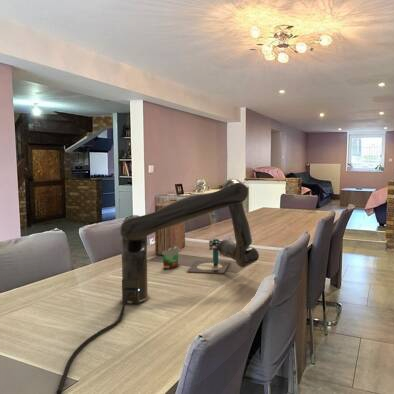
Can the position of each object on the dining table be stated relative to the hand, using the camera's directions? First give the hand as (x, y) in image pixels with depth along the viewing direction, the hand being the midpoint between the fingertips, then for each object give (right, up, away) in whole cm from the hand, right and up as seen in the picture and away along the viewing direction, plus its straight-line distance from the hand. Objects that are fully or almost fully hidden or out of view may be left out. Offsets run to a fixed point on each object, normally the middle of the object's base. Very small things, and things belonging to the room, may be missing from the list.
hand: (213, 241), depth 178 cm
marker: (+2, -12, -1) cm, 12 cm away
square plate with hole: (-1, -13, -3) cm, 13 cm away
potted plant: (-20, -13, -2) cm, 24 cm away
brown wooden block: (-30, -10, +31) cm, 44 cm away
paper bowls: (+7, -10, +28) cm, 31 cm away
